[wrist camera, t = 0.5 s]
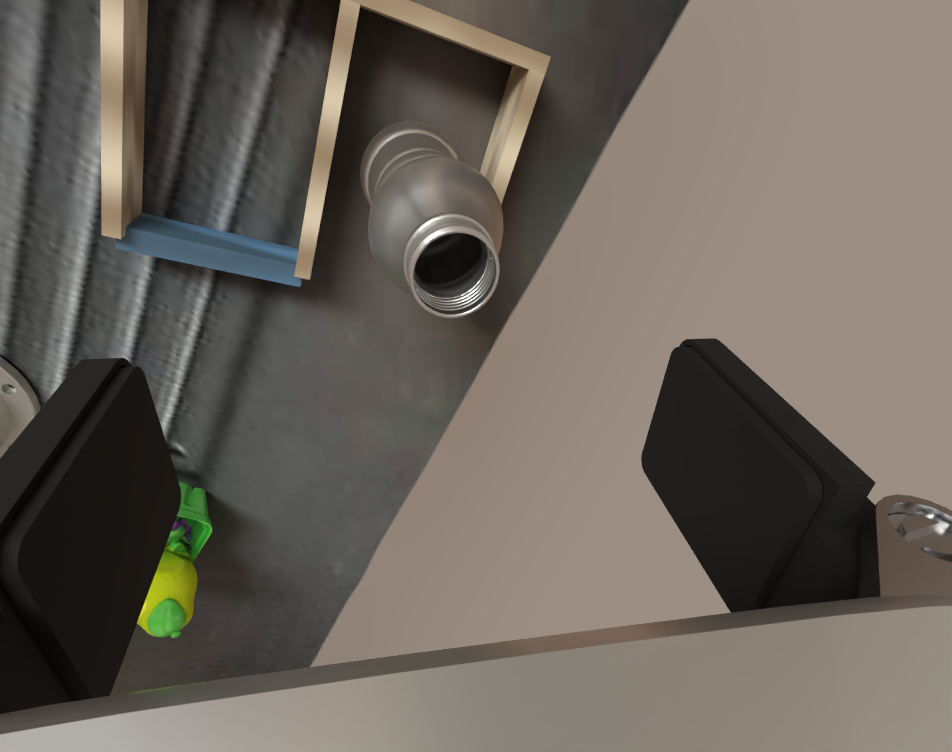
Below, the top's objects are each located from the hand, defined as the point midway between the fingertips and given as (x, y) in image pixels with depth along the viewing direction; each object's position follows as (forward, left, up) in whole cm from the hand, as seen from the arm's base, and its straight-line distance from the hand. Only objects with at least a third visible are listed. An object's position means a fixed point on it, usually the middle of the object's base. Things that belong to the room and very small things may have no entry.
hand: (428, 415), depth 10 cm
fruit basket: (-36, +11, -32) cm, 49 cm away
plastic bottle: (-1, -3, -32) cm, 32 cm away
